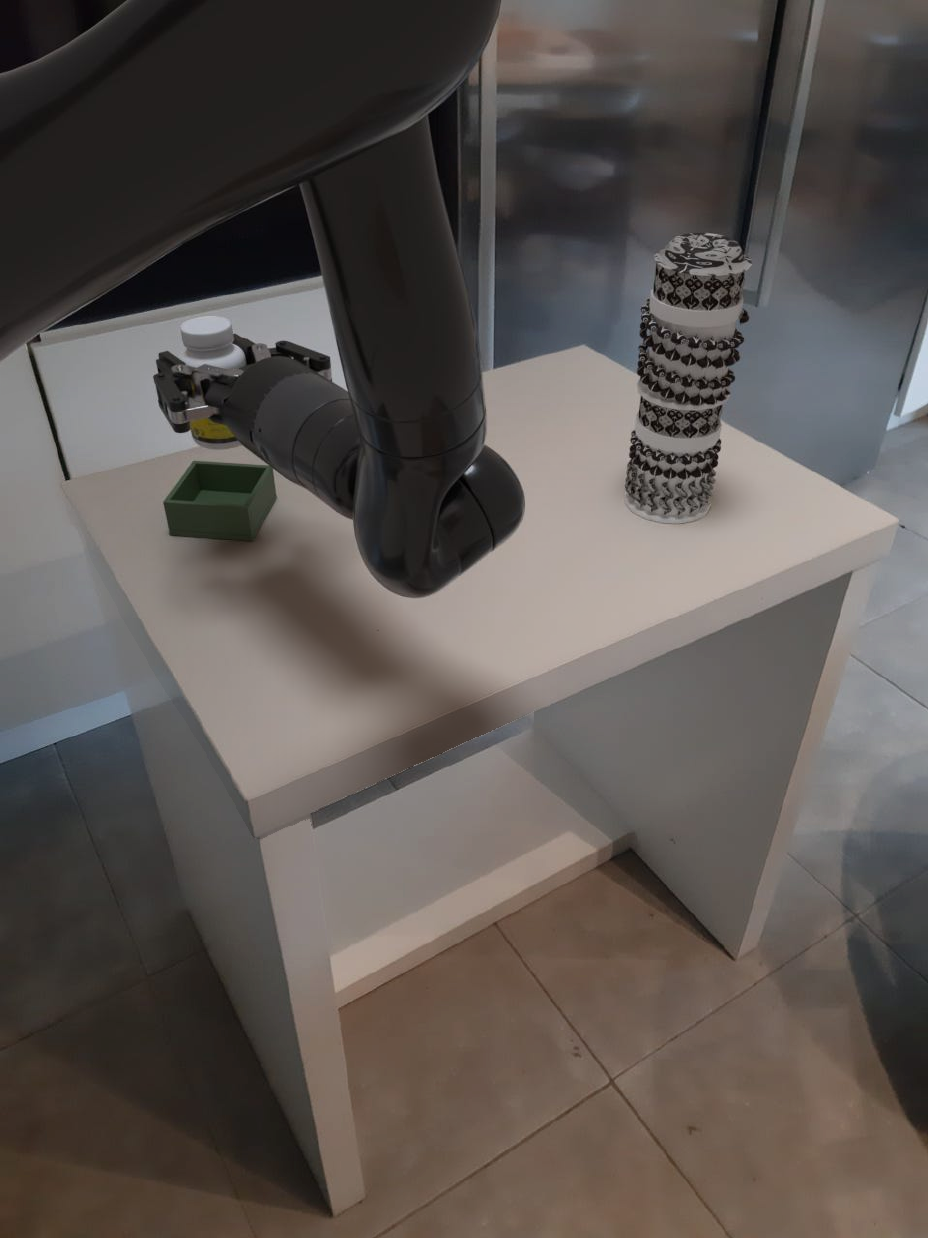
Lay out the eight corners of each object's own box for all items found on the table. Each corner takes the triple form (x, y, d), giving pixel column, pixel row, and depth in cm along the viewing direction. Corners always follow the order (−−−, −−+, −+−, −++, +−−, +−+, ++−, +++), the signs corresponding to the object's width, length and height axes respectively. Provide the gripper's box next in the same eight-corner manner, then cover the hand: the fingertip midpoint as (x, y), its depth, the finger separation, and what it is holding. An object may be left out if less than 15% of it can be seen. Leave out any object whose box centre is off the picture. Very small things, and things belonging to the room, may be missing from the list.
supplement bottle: (189, 427, 85) (169, 316, 79) (252, 419, 86) (237, 309, 80) (194, 455, 81) (173, 339, 75) (261, 446, 82) (245, 332, 76)
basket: (252, 541, 91) (247, 507, 89) (169, 535, 92) (162, 501, 89) (276, 497, 97) (272, 465, 95) (199, 492, 98) (193, 460, 96)
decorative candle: (649, 469, 102) (681, 218, 87) (730, 497, 97) (780, 238, 82) (601, 504, 96) (627, 242, 81) (686, 536, 92) (730, 265, 76)
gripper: (382, 351, 72) (269, 290, 82) (202, 403, 65) (103, 329, 75) (388, 444, 76) (279, 375, 87) (219, 502, 69) (124, 419, 80)
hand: (198, 354), depth 81 cm, fingers closed on supplement bottle, 5 cm apart
